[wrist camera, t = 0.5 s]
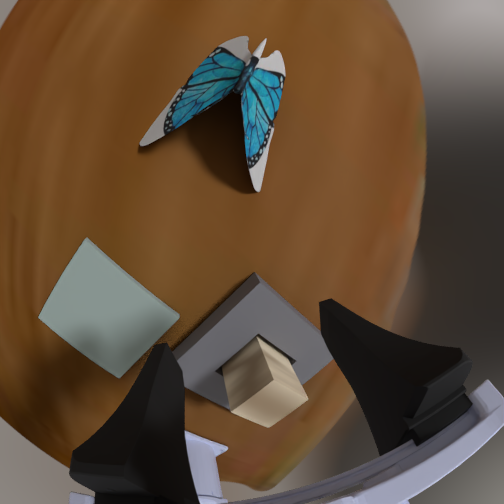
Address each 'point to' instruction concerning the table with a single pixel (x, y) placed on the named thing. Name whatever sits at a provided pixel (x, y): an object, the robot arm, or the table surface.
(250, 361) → the maple block
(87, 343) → the rubber mat
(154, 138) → the decorative butterfly
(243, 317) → the pocket holder
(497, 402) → the robot arm
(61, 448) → the table surface
